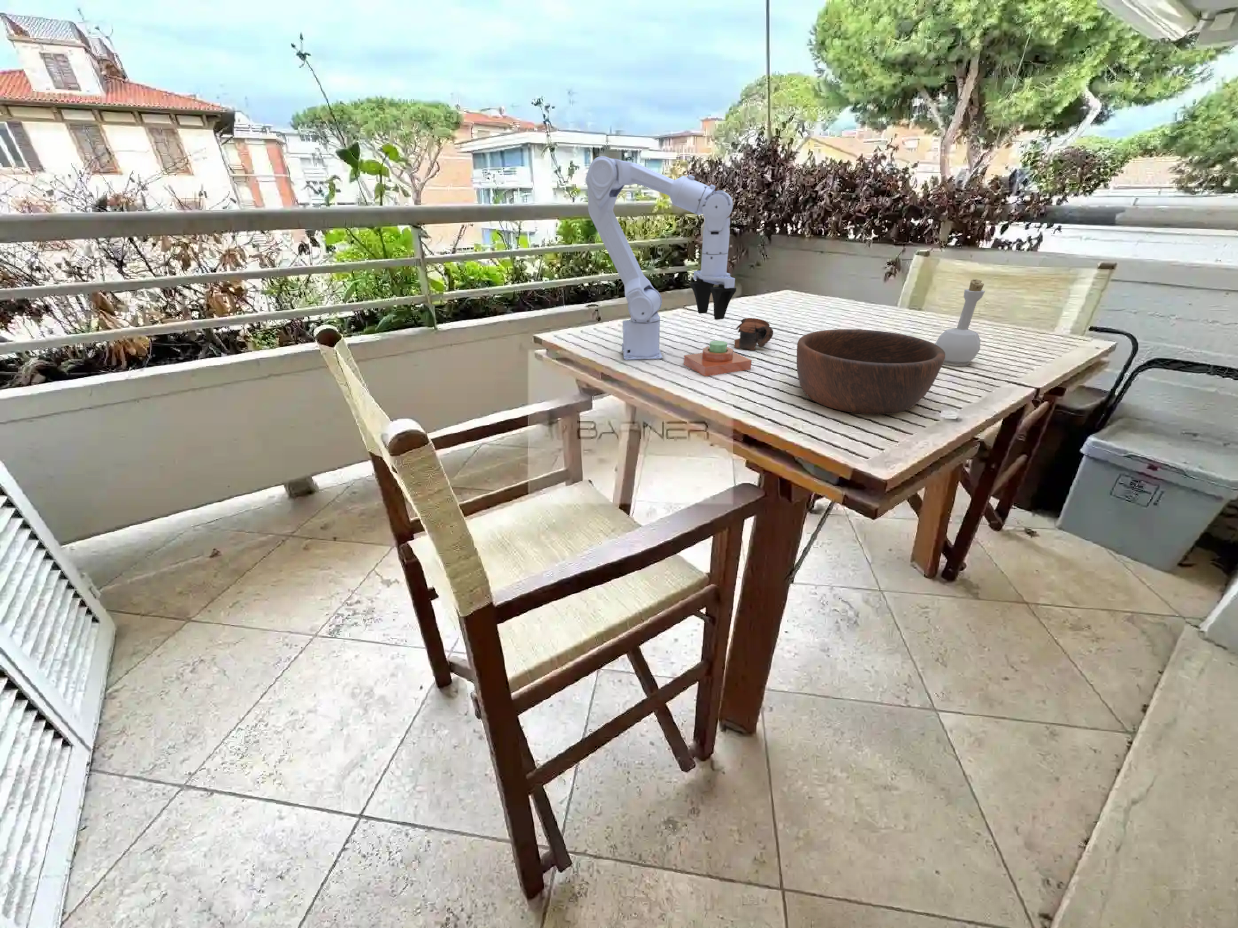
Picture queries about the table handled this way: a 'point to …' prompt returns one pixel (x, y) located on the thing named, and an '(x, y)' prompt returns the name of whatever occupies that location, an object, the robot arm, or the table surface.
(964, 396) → the table surface
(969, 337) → the potion bottle
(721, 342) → the green button cap
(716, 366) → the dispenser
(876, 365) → the wooden bowl
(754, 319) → the pottery mug
